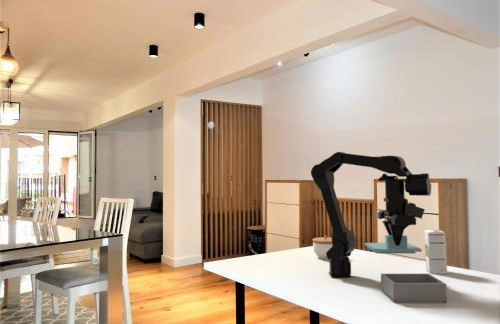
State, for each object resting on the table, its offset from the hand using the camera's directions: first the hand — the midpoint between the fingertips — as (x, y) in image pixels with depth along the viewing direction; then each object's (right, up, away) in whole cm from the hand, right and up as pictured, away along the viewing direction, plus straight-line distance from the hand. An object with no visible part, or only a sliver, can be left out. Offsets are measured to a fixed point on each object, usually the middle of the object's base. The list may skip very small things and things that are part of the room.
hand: (396, 244), depth 120 cm
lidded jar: (-14, -15, +41) cm, 46 cm away
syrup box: (+20, -13, +15) cm, 28 cm away
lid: (0, -3, +4) cm, 5 cm away
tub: (0, -12, -13) cm, 17 cm away
